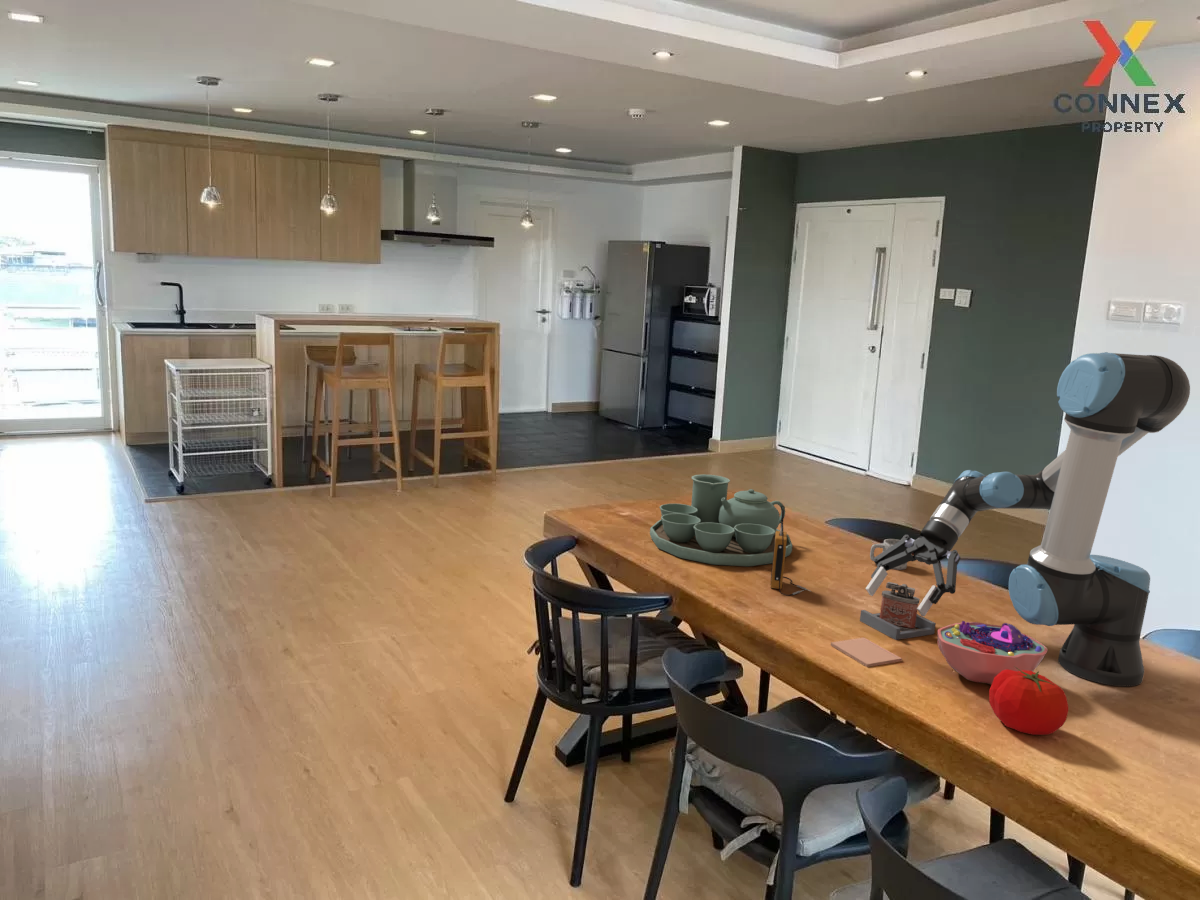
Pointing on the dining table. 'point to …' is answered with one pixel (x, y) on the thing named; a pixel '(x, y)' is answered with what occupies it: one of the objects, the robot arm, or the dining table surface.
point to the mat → (866, 652)
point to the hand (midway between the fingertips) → (893, 602)
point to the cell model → (988, 649)
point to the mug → (885, 546)
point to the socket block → (893, 631)
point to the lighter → (899, 606)
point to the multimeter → (780, 559)
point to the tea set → (720, 526)
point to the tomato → (1028, 702)
